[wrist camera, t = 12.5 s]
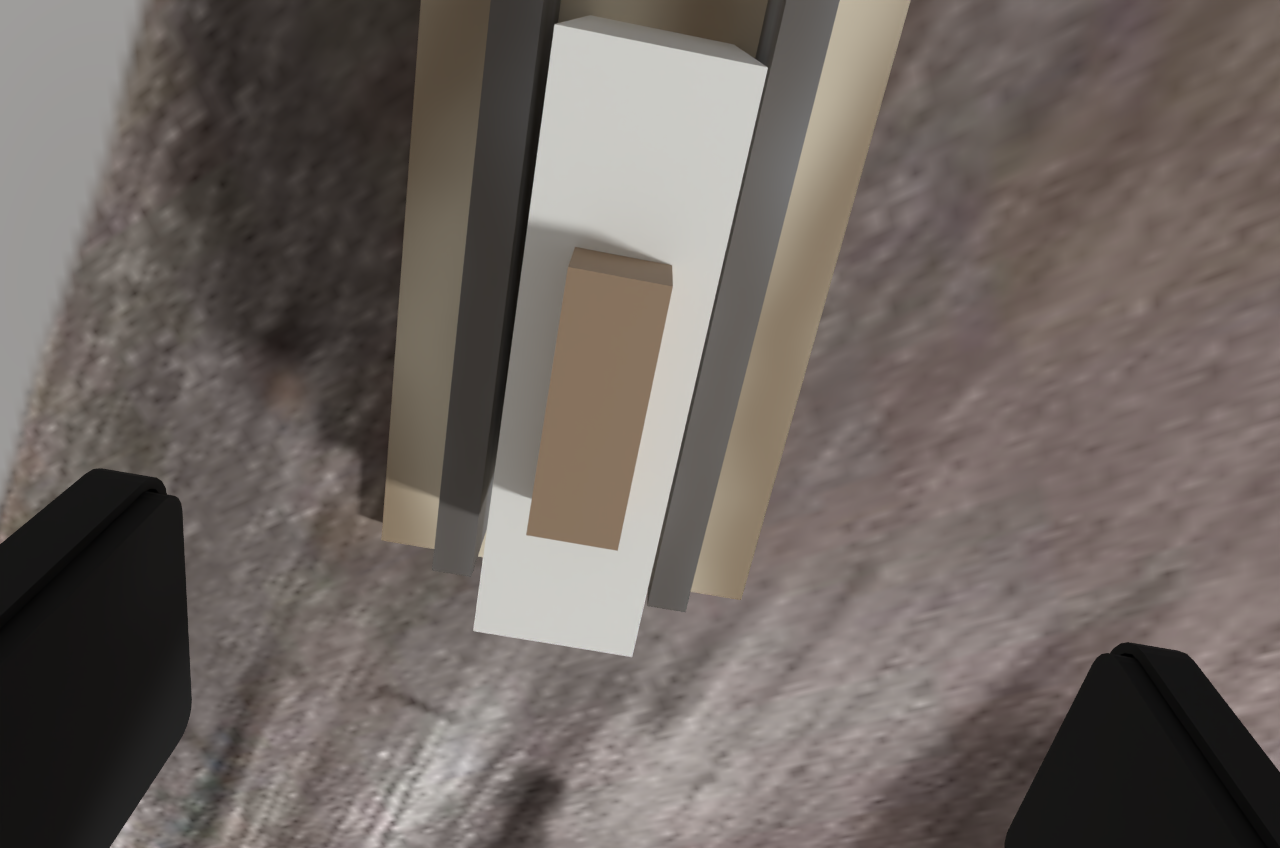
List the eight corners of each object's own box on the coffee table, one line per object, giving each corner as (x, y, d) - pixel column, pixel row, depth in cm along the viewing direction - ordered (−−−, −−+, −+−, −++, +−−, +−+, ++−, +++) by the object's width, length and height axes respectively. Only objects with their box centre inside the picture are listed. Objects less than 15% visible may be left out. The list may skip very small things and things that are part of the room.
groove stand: (924, -82, 24) (983, -100, 20) (738, 583, 34) (750, 674, 29) (443, -184, 24) (391, -226, 19) (389, 525, 33) (345, 609, 28)
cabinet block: (733, 44, 25) (777, 73, 15) (640, 482, 31) (630, 698, 21) (590, 15, 25) (544, 26, 15) (523, 462, 31) (461, 671, 21)
